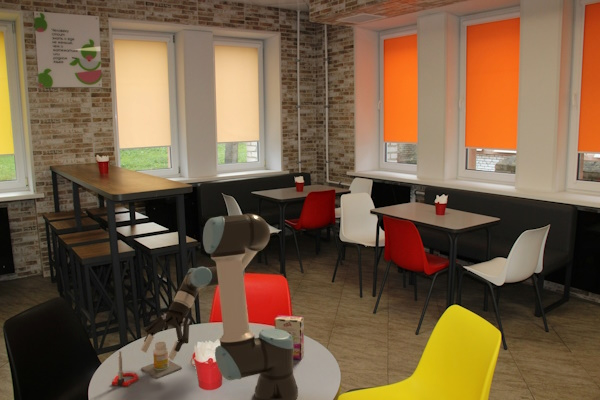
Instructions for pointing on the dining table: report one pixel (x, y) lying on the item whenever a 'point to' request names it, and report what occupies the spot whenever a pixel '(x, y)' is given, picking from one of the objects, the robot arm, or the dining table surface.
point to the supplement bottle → (160, 356)
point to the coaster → (161, 373)
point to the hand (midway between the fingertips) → (156, 355)
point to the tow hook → (119, 378)
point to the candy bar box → (293, 332)
